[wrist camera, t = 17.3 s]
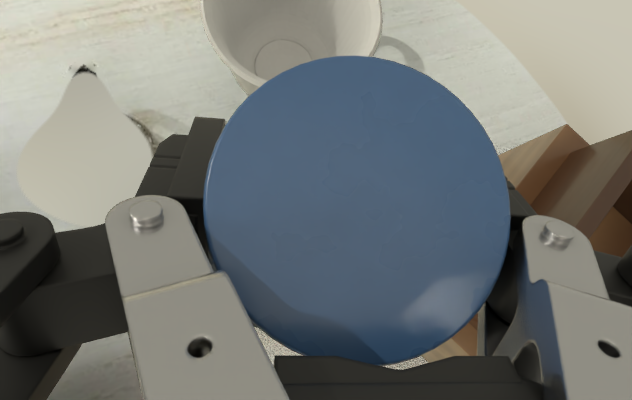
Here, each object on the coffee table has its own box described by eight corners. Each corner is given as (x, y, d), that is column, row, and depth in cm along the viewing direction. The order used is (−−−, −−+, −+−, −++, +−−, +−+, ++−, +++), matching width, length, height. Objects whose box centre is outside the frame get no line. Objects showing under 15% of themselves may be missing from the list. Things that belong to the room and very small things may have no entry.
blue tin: (204, 245, 17) (128, 206, 7) (295, 153, 19) (352, -3, 8) (302, 337, 17) (381, 444, 7) (386, 239, 19) (567, 196, 8)
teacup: (364, 4, 39) (401, -83, 30) (337, 154, 37) (368, 112, 27) (237, -30, 38) (232, -133, 28) (199, 123, 35) (179, 67, 25)
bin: (353, 292, 35) (469, 320, 16) (453, 175, 38) (646, 86, 19) (476, 407, 35) (730, 565, 16) (566, 280, 38) (866, 292, 19)
